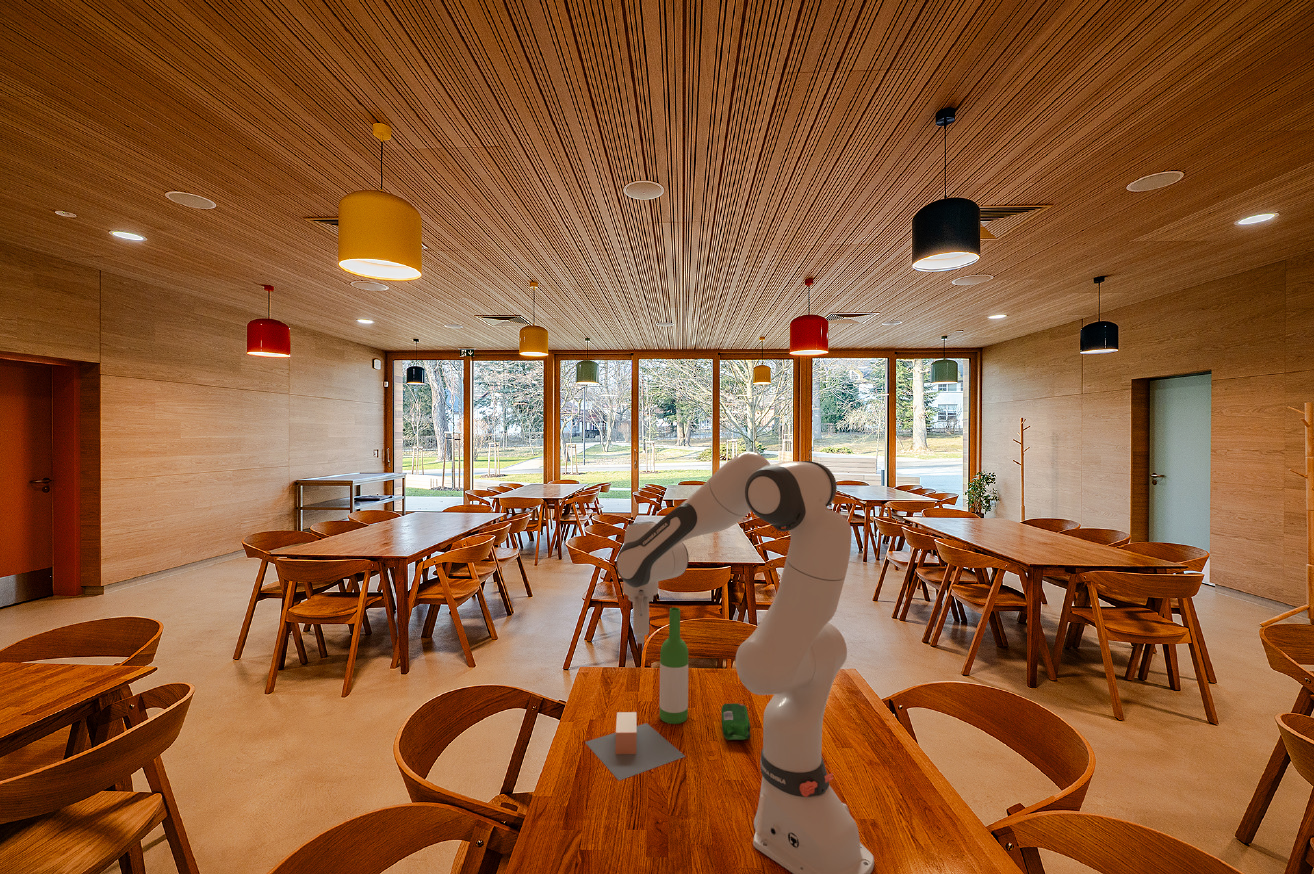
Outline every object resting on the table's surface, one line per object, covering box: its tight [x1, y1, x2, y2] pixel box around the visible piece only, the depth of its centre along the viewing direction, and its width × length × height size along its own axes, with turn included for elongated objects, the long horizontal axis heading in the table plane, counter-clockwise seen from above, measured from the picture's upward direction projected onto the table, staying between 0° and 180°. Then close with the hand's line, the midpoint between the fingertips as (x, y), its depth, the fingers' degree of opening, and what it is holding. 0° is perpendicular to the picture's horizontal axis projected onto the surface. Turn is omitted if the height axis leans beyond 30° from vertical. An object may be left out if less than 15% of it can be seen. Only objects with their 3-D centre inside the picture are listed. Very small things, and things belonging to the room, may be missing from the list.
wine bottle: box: [659, 607, 689, 725], centre depth 146 cm, size 8×8×30 cm
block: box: [615, 711, 638, 754], centre depth 133 cm, size 5×5×10 cm
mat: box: [584, 722, 687, 782], centre depth 130 cm, size 18×18×1 cm
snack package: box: [721, 702, 752, 741], centre depth 140 cm, size 7×16×5 cm, turn 175°
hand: (640, 641), depth 133 cm, fingers closed
